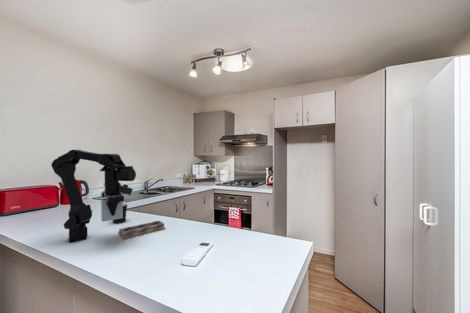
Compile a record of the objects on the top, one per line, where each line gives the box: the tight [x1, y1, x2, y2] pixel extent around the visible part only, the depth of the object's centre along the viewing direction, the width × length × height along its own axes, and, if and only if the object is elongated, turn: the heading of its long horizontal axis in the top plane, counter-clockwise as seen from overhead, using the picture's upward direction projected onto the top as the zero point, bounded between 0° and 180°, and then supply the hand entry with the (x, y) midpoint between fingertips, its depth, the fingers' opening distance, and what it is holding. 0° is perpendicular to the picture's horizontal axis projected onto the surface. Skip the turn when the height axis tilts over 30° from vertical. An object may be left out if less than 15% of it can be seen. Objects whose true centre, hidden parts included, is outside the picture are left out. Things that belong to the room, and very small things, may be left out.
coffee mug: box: [112, 203, 128, 225], centre depth 124 cm, size 12×9×10 cm
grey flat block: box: [100, 199, 124, 223], centre depth 95 cm, size 8×3×9 cm, turn 131°
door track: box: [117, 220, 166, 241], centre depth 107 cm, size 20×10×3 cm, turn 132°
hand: (112, 214), depth 95 cm, fingers closed on grey flat block, 3 cm apart
